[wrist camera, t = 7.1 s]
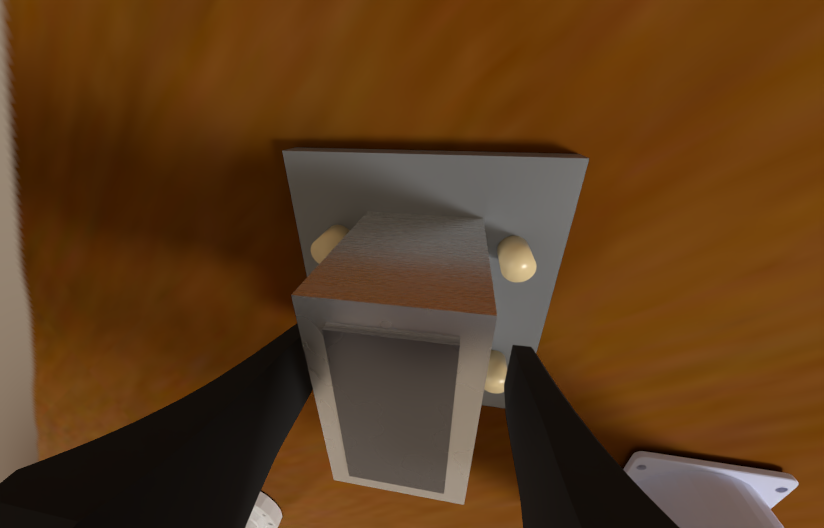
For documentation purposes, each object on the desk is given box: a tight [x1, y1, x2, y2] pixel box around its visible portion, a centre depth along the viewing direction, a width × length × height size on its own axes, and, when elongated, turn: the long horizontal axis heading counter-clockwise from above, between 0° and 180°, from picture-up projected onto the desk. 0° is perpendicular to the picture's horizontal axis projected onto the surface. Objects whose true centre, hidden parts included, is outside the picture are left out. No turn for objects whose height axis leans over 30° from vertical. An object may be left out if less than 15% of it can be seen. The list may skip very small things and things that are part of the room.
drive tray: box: [282, 147, 589, 408], centre depth 13 cm, size 13×11×2 cm
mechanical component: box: [245, 491, 282, 528], centre depth 29 cm, size 10×4×10 cm
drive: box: [291, 212, 497, 505], centre depth 11 cm, size 8×5×6 cm, turn 0°
